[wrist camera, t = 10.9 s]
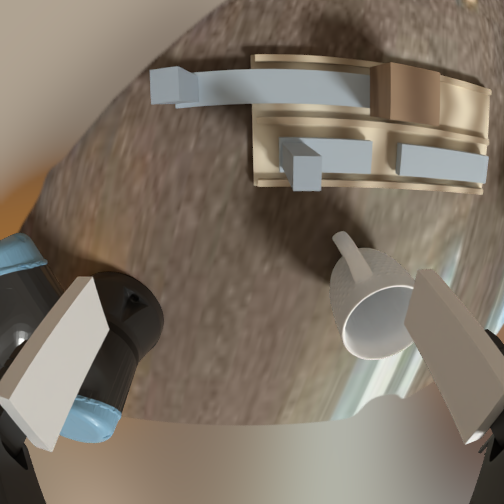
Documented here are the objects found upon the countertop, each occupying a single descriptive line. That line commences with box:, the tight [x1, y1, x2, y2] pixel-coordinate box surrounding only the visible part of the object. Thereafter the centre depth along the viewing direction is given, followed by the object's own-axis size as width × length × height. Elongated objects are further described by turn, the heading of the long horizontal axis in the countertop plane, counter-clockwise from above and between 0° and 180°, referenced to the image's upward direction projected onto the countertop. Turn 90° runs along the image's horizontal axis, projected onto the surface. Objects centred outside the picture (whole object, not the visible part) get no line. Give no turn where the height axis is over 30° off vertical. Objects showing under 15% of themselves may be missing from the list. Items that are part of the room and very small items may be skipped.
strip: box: [150, 66, 370, 108], centre depth 27 cm, size 30×4×11 cm, turn 91°
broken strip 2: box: [395, 143, 489, 184], centre depth 35 cm, size 15×4×1 cm, turn 91°
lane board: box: [251, 54, 491, 195], centre depth 34 cm, size 34×16×2 cm, turn 91°
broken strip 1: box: [279, 137, 373, 191], centre depth 31 cm, size 11×4×11 cm, turn 91°
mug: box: [329, 231, 415, 360], centre depth 38 cm, size 15×11×13 cm
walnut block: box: [370, 62, 440, 126], centre depth 28 cm, size 6×6×6 cm
